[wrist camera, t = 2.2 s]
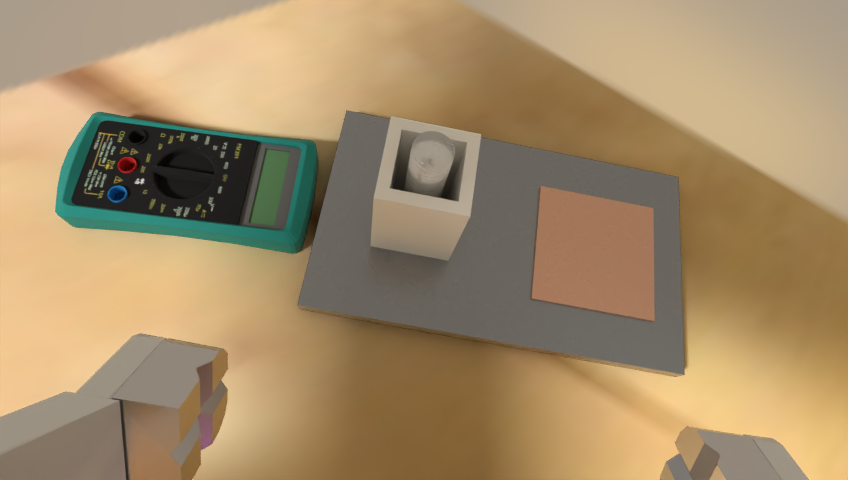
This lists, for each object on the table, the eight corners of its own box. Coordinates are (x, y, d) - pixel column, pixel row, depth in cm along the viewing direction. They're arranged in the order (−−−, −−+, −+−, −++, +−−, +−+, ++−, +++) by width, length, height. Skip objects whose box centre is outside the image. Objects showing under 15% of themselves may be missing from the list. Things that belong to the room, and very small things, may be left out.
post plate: (299, 308, 32) (277, 258, 23) (346, 118, 37) (343, 18, 29) (675, 376, 33) (789, 352, 25) (670, 183, 39) (762, 106, 30)
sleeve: (370, 246, 33) (373, 197, 27) (384, 176, 35) (391, 115, 29) (448, 260, 33) (470, 216, 27) (458, 191, 35) (481, 134, 29)
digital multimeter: (100, 128, 35) (78, 102, 33) (322, 158, 37) (319, 135, 34) (63, 229, 33) (36, 209, 30) (304, 258, 34) (299, 242, 31)
